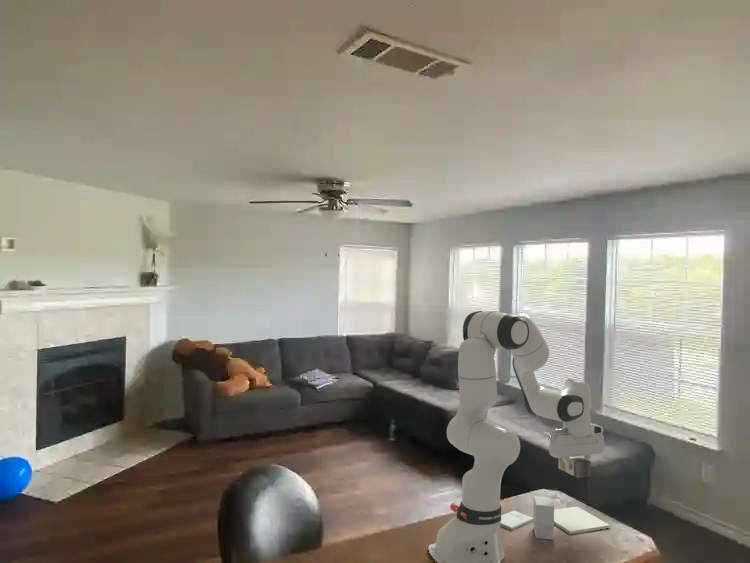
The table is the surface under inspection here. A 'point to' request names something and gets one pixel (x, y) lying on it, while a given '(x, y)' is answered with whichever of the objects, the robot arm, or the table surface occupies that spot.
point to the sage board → (577, 520)
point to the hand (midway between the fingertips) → (576, 468)
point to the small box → (543, 518)
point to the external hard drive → (514, 520)
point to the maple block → (576, 466)
